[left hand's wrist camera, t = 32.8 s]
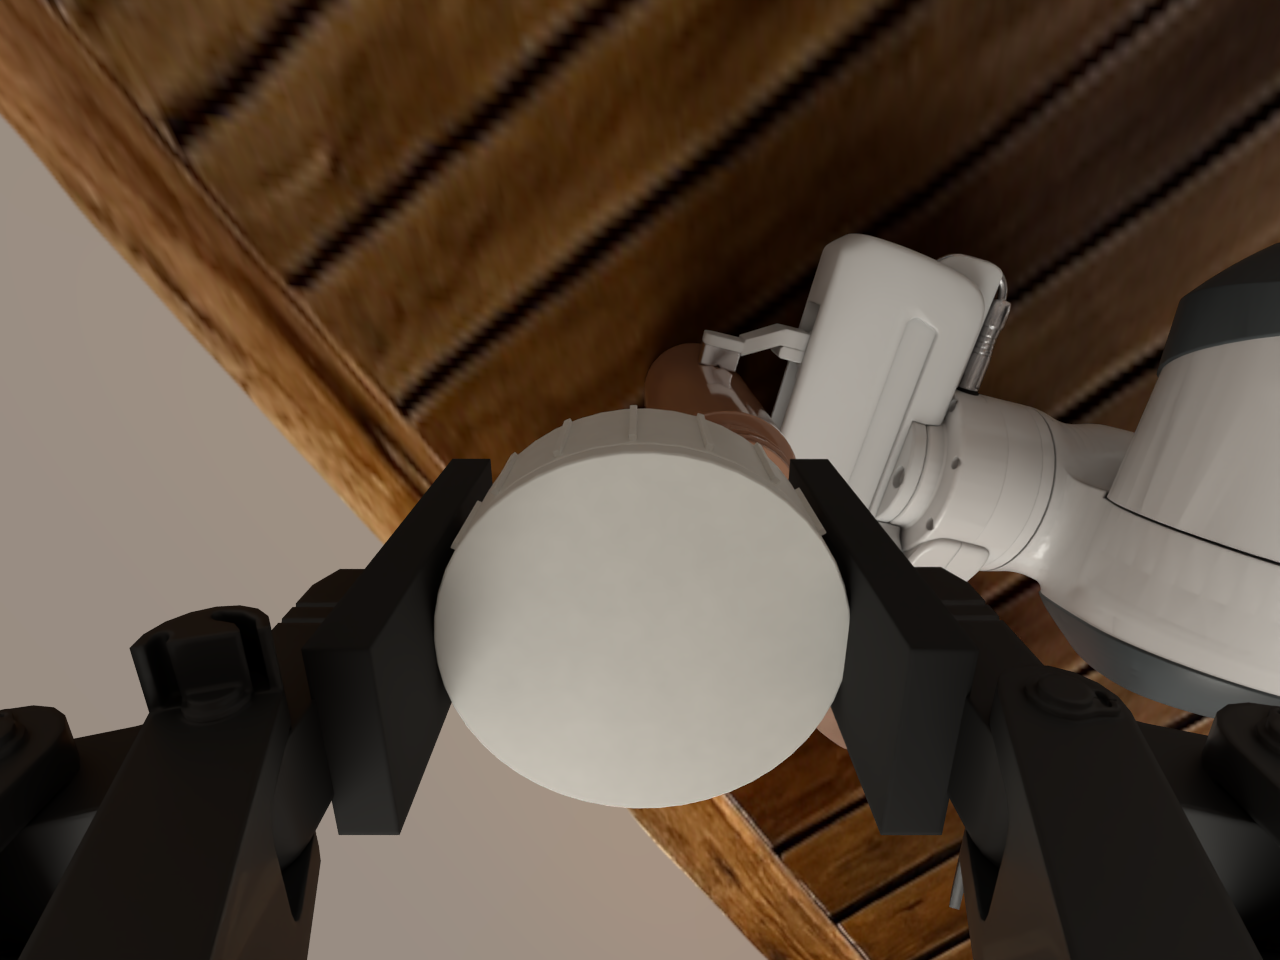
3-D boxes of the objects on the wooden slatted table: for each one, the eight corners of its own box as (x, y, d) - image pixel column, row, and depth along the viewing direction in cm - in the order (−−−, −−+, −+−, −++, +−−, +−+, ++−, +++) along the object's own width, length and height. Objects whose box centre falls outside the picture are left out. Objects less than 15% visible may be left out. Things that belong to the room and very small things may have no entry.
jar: (717, 327, 39) (779, 399, 22) (751, 413, 41) (834, 542, 24) (628, 366, 40) (623, 466, 23) (666, 450, 41) (687, 599, 24)
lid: (633, 770, 14) (632, 870, 11) (391, 564, 12) (339, 636, 10) (888, 586, 12) (940, 662, 10) (653, 322, 10) (656, 347, 8)
